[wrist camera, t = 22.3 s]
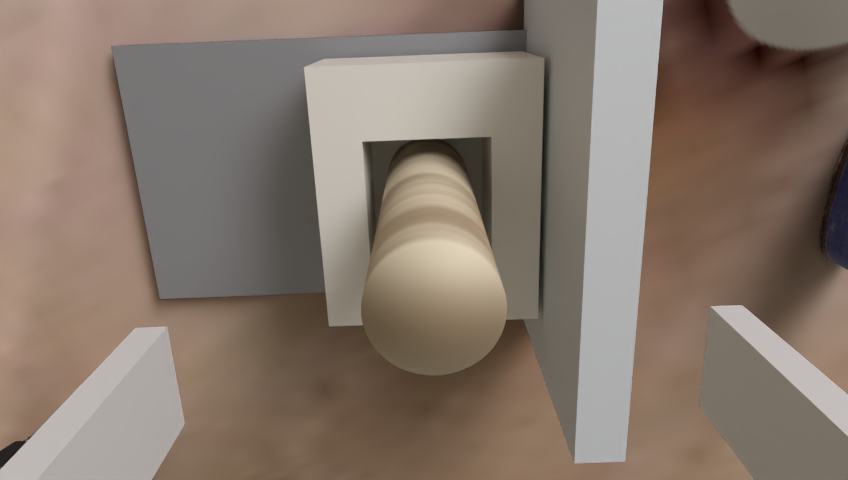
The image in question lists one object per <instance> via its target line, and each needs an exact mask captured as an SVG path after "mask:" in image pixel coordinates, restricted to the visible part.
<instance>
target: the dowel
mask: <svg viewBox="0 0 848 480" xmlns="http://www.w3.org/2000/svg"><path fill="white" fill-rule="evenodd" d="M361 317H362V323H363V327H364V330H365V333H366V335H367V337H368V339H369V341H370V342H371V344H372V346H373V347H374V348H375V349H376V350H377V352H378V353H379V354H380V355H381V356H382V357H384V358H385V359H386V360H387V361H389V362H390V363H392V364H393V365H395V366H397V367H399V368H401V369H403V370H406V371H408V372H412V373H416V374H421V375H434V376H436V375H446V374H451V373H455V372H458V371H461V370H464V369H466V368H468V367H470V366H472V365H474V364H475V363H477V362H479V361H480V360H481V359H482V358H484V357H485V356H486V355H487V354H488V353H489V352H490V351H491V350H492V349H493V347H494V346H495V345H496V343H497V342H498V340H499V338H500V336H501V334H502V332H503V329H504V326H505V322H506V317H507V300H506V295H505V291H504V288H503V285H502V281H501V278H500V275H499V272H498V269H497V266H496V262H495V259H494V256H493V253H492V250H491V247H490V243H489V240H488V237H487V234H486V231H485V228H484V224H483V221H482V218H481V215H480V212H479V209H478V205H477V202H476V199H475V196H474V193H473V190H472V186H471V183H470V180H469V177H468V174H467V171H466V167H465V164H464V161H463V159H462V157H461V155H460V154H459V152H458V151H457V150H456V149H455V148H454V147H453V146H452V145H450V144H449V143H447V142H445V141H443V140H441V139H419V140H411V141H409V142H407V143H406V144H404V145H403V146H402V147H401V148H400V149H399V150H398V151H397V152H396V153H395V155H394V156H393V158H392V160H391V163H390V166H389V170H388V175H387V180H386V185H385V190H384V194H383V199H382V204H381V209H380V214H379V219H378V223H377V228H376V233H375V238H374V243H373V247H372V252H371V257H370V262H369V267H368V272H367V276H366V281H365V286H364V291H363V296H362V302H361Z"/></svg>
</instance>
